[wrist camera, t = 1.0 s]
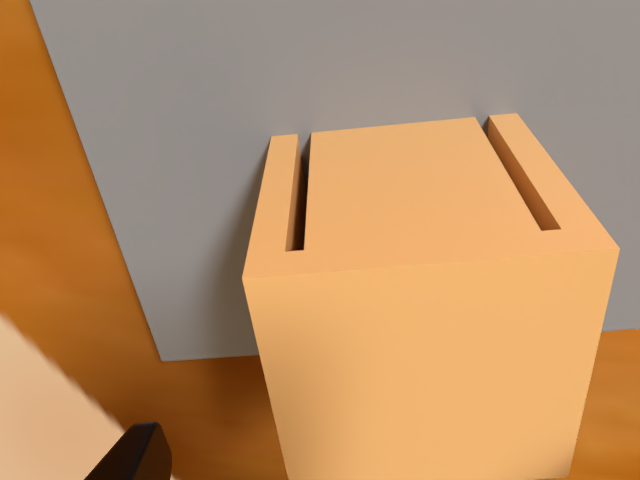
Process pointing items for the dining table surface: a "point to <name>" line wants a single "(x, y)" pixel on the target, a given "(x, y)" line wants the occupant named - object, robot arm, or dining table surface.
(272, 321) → the orange grooved cube
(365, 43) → the grey base plate
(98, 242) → the dining table surface
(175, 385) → the dining table surface
